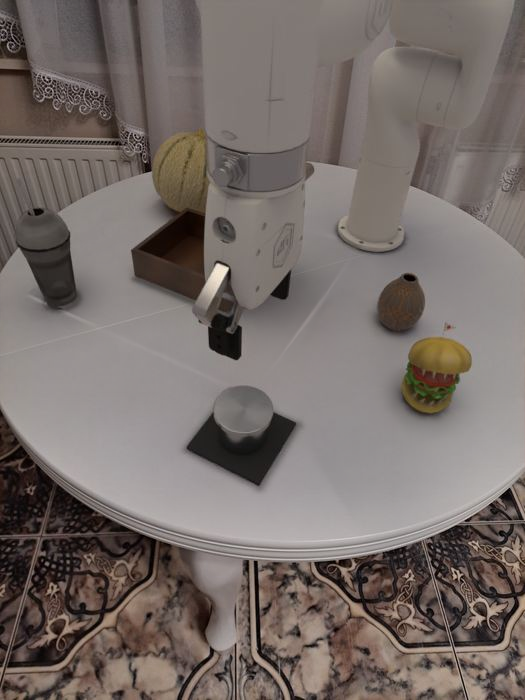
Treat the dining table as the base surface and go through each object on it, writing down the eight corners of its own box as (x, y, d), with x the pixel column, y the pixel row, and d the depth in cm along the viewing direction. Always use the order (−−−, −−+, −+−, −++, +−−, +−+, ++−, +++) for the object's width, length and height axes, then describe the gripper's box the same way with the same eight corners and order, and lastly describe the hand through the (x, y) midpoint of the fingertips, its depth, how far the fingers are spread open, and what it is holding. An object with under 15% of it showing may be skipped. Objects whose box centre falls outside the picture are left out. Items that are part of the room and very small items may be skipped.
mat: (228, 394, 68) (228, 391, 68) (296, 425, 65) (296, 422, 65) (186, 449, 62) (186, 446, 61) (259, 486, 59) (259, 483, 58)
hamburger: (399, 417, 67) (425, 354, 58) (389, 376, 72) (412, 312, 63) (457, 419, 67) (491, 356, 59) (443, 378, 72) (473, 315, 64)
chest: (135, 279, 84) (130, 249, 80) (188, 235, 94) (186, 207, 90) (226, 316, 79) (227, 287, 75) (272, 265, 89) (275, 237, 85)
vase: (419, 314, 82) (436, 269, 76) (414, 342, 77) (431, 297, 71) (377, 303, 83) (389, 258, 77) (369, 330, 78) (382, 285, 72)
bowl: (232, 403, 66) (232, 377, 62) (280, 425, 64) (283, 399, 60) (203, 442, 62) (201, 416, 58) (253, 468, 60) (255, 442, 56)
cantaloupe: (144, 222, 96) (134, 144, 85) (170, 186, 106) (165, 112, 96) (219, 235, 94) (219, 157, 84) (239, 197, 105) (241, 123, 94)
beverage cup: (73, 319, 76) (38, 198, 62) (28, 311, 77) (-17, 189, 63) (94, 290, 81) (66, 171, 67) (51, 282, 82) (15, 163, 68)
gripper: (243, 225, 31) (239, 397, 44) (346, 125, 42) (320, 286, 54) (144, 191, 33) (167, 364, 46) (266, 105, 44) (258, 264, 57)
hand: (250, 321), depth 50 cm, fingers open, 9 cm apart
